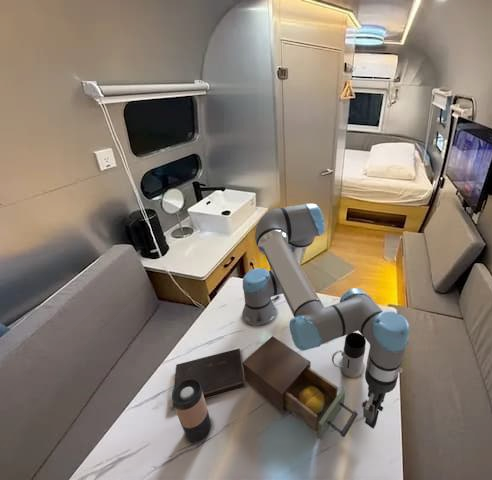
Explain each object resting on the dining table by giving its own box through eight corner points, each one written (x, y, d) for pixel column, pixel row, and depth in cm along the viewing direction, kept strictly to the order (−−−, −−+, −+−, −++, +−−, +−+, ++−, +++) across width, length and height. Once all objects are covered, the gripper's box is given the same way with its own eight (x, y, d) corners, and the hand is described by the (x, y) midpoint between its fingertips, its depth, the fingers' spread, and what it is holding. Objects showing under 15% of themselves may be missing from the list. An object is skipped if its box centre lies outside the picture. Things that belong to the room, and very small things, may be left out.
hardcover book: (177, 368, 104) (176, 364, 103) (240, 351, 111) (239, 348, 110) (173, 409, 91) (172, 405, 90) (244, 387, 98) (244, 383, 97)
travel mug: (211, 439, 84) (199, 400, 74) (184, 447, 82) (168, 408, 72) (212, 414, 90) (202, 375, 80) (187, 420, 88) (173, 382, 78)
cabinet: (310, 379, 102) (310, 361, 97) (282, 412, 91) (281, 394, 86) (273, 353, 111) (272, 335, 106) (245, 380, 100) (242, 362, 95)
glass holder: (367, 370, 106) (372, 344, 98) (337, 388, 99) (340, 361, 92) (353, 354, 112) (357, 327, 105) (324, 369, 106) (326, 342, 98)
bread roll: (311, 421, 87) (311, 414, 85) (294, 399, 93) (294, 392, 91) (330, 404, 92) (330, 397, 90) (313, 385, 98) (313, 378, 96)
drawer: (360, 416, 90) (363, 401, 86) (338, 454, 80) (340, 440, 76) (303, 375, 102) (304, 360, 98) (278, 405, 92) (277, 390, 88)
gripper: (385, 400, 58) (371, 454, 70) (407, 358, 68) (392, 412, 79) (355, 380, 62) (346, 435, 74) (379, 343, 72) (368, 397, 83)
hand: (370, 423), depth 76 cm, fingers closed
